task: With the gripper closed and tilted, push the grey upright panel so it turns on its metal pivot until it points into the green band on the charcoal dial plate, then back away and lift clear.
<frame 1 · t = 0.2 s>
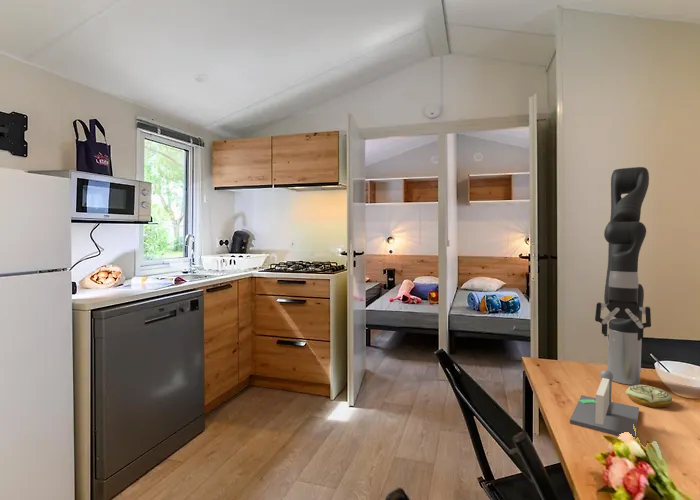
hand: (621, 338, 123), 17 cm above the table, tool pointing down, fingers open, 8 cm apart
grey upright panel: (604, 395, 104), point 7 cm above the table, hinge at 0.0°
dial plate: (605, 416, 107), on the table
decorated donut: (648, 402, 118), on the table
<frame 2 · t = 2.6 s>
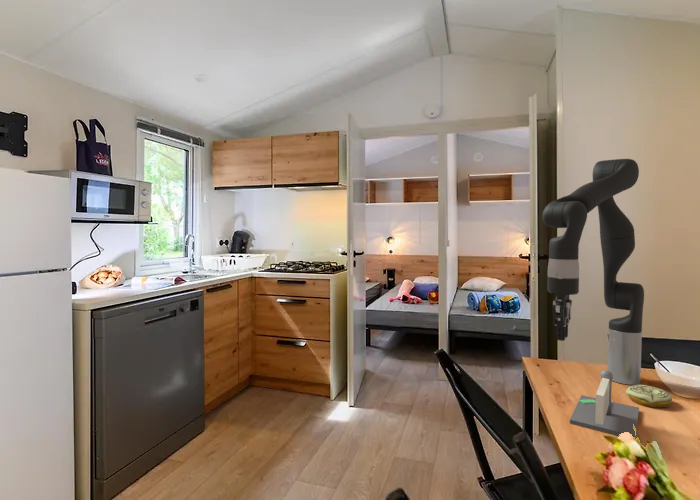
hand: (561, 338, 108), 21 cm above the table, tool pointing down, fingers open, 3 cm apart
nothing on the table moved.
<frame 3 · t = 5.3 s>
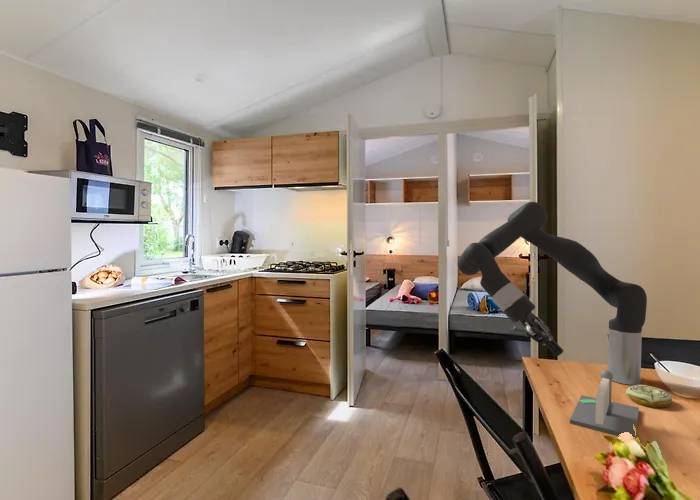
hand: (560, 354, 104), 18 cm above the table, tool tilted 45°, fingers closed
nothing on the table moved.
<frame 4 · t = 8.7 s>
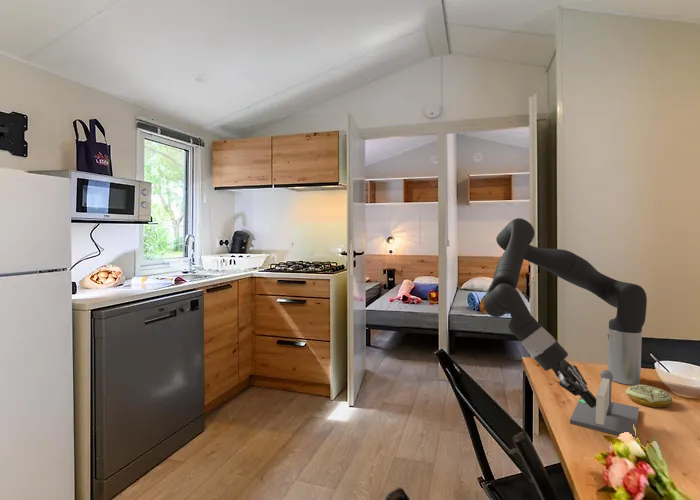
hand: (595, 405, 99), 7 cm above the table, tool tilted 45°, fingers closed
grey upright panel: (604, 395, 104), point 7 cm above the table, hinge at 0.4°, touching gripper
everything else where it was.
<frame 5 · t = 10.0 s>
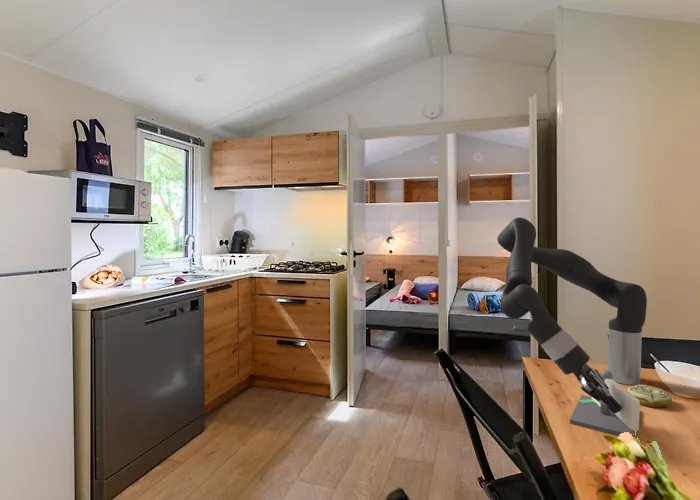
hand: (618, 411, 97), 6 cm above the table, tool tilted 45°, fingers closed
grey upright panel: (611, 396, 104), point 7 cm above the table, hinge at 26.7°, touching gripper
everything else where it was.
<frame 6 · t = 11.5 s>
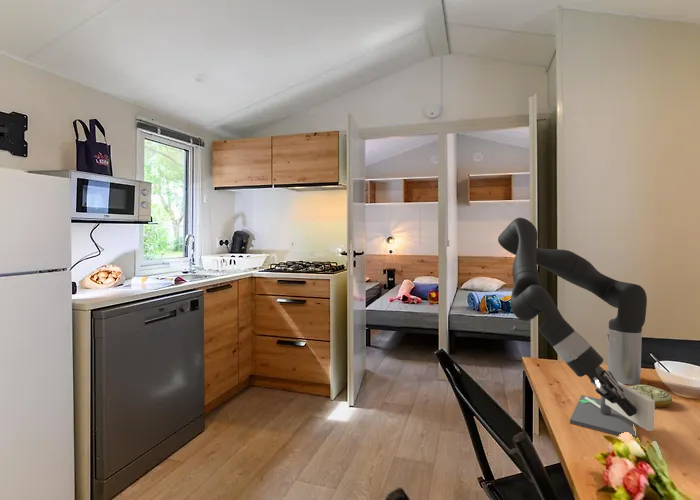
hand: (633, 413, 95), 7 cm above the table, tool tilted 45°, fingers closed
grey upright panel: (614, 396, 104), point 7 cm above the table, hinge at 39.2°, touching gripper
everything else where it was.
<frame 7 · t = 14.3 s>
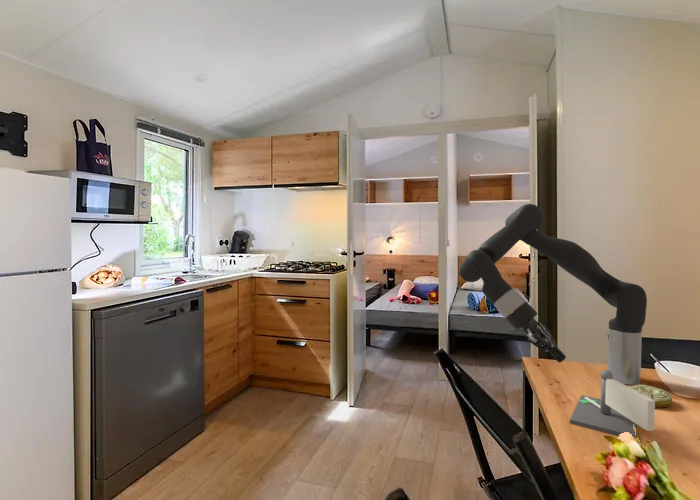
hand: (562, 360, 104), 16 cm above the table, tool tilted 45°, fingers closed
grey upright panel: (614, 396, 104), point 7 cm above the table, hinge at 39.3°
everything else where it was.
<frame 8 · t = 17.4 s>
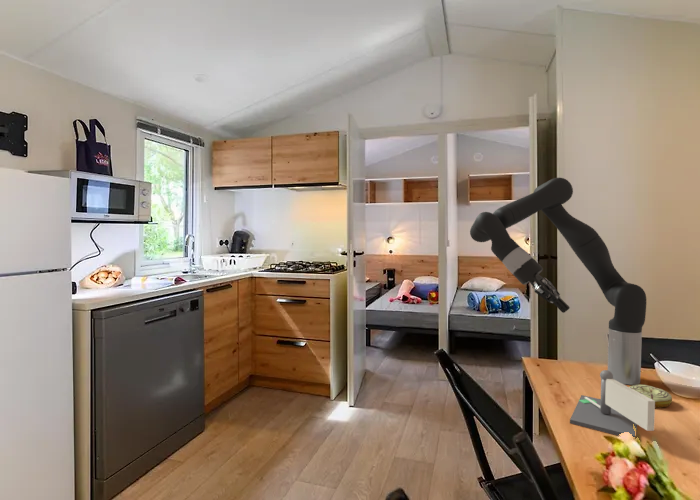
hand: (566, 310, 112), 28 cm above the table, tool tilted 45°, fingers closed
nothing on the table moved.
at the end: grey upright panel at +39° (first picture: +0°); decorated donut moved 0.4 cm from its start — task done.
